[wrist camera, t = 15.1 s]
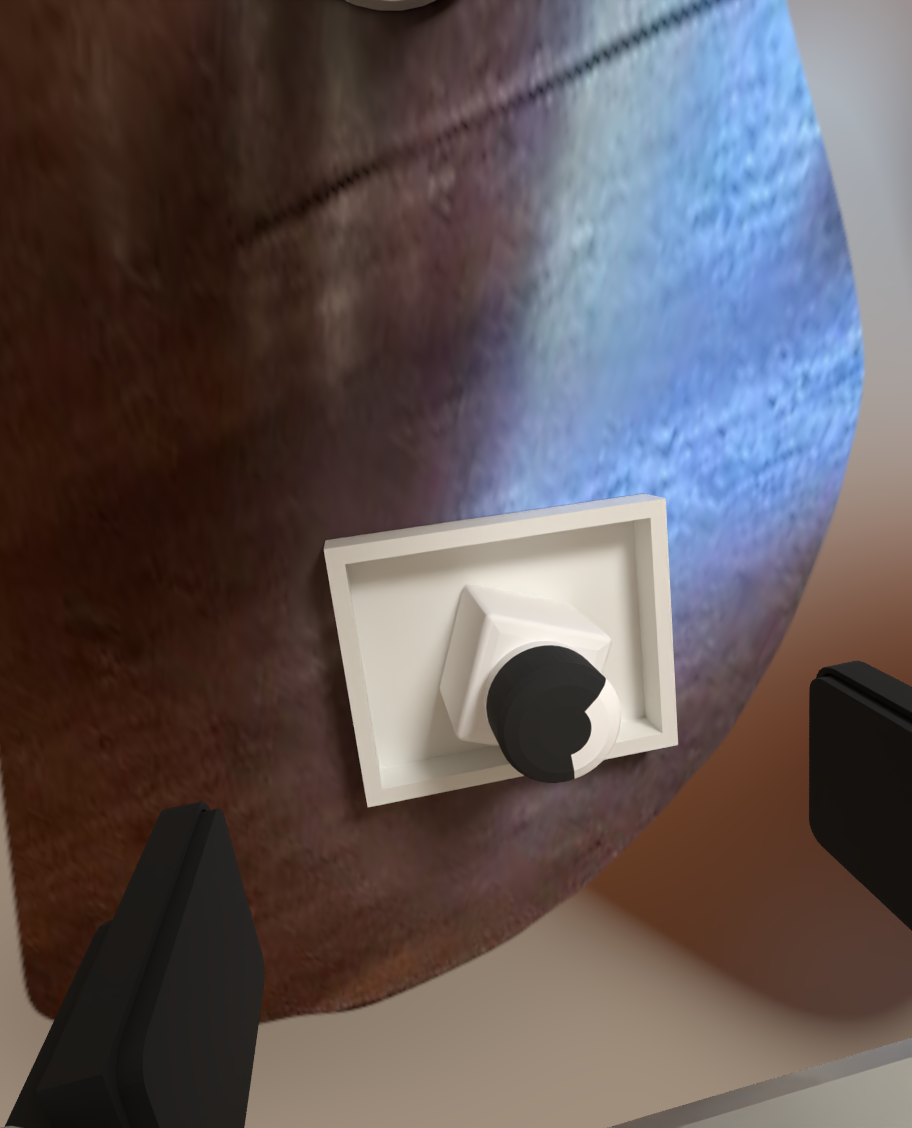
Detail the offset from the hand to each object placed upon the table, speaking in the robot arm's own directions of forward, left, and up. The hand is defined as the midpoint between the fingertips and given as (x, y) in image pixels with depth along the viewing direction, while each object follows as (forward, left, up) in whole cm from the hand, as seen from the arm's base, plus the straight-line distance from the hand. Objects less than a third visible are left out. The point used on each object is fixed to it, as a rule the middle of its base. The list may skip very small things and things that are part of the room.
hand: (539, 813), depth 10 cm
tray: (+8, +6, -30) cm, 32 cm away
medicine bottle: (+9, +6, -30) cm, 32 cm away
